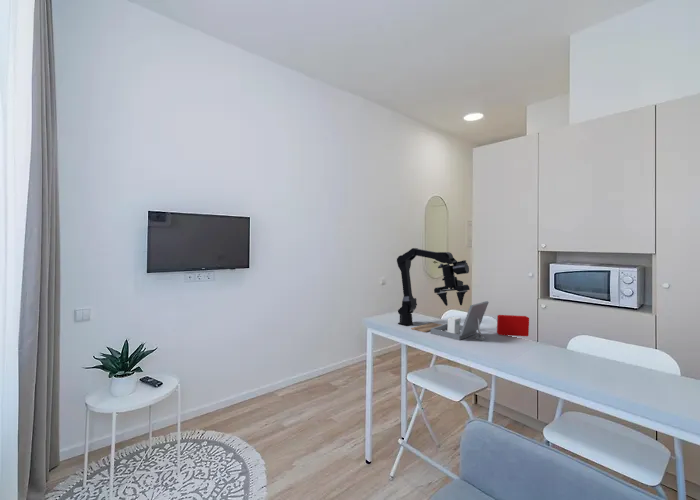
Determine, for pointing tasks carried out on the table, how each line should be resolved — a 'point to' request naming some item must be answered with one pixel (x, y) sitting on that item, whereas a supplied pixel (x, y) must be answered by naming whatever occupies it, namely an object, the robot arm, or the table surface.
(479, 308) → the case lid
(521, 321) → the red flat block
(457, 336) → the case
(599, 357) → the table surface
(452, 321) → the block
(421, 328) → the walnut board
